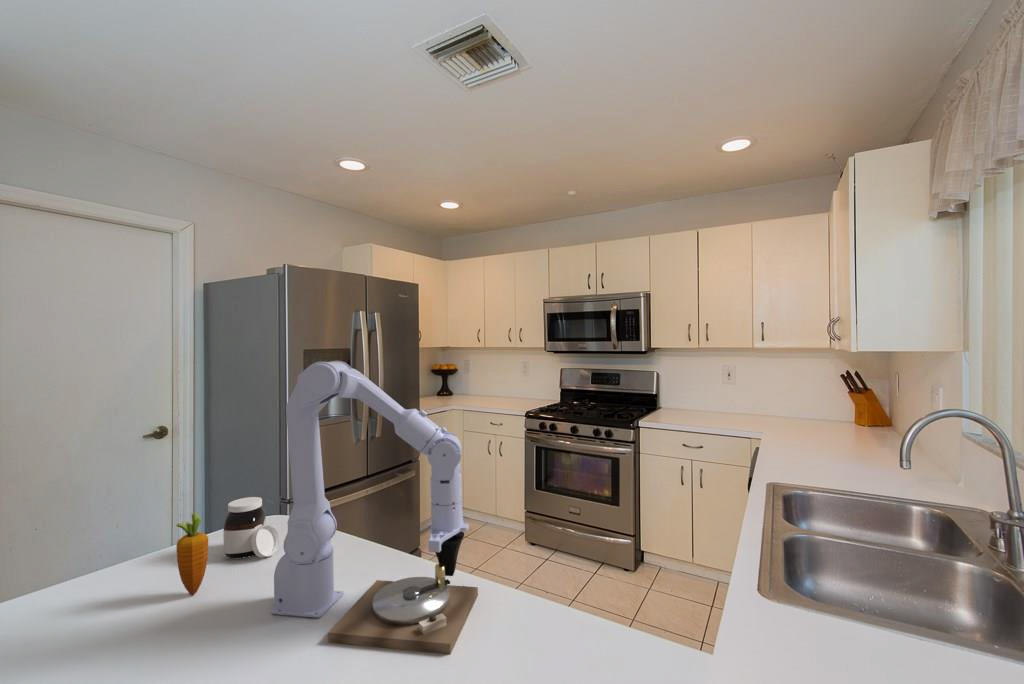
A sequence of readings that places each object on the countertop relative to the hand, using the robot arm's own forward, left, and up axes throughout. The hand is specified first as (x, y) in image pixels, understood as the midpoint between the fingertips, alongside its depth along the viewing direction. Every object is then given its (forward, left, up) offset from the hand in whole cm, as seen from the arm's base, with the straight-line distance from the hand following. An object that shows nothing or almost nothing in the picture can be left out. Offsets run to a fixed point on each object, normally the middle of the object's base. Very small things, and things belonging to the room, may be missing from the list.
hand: (448, 574), depth 84 cm
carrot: (-49, -6, -4) cm, 49 cm away
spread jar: (-51, +12, -4) cm, 52 cm away
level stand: (-5, -7, -4) cm, 9 cm away
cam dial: (-5, -6, -2) cm, 8 cm away
